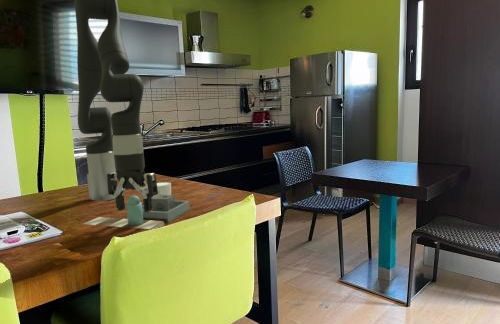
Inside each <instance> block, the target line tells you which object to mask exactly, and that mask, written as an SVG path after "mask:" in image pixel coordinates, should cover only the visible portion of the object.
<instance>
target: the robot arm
mask: <svg viewBox="0 0 500 324" xmlns="http://www.w3.org/2000/svg"><path fill="white" fill-rule="evenodd" d="M74 9H75V21H76V22H75V23H76V32H77V33H76V36H77V53H76V54H77V56H76V57H77V61H76V63H77V66H76V67H77V81H78V85H77V86H78V104H77V106H78V107H77V124H78V125H77V126H78V130H79V131H80V133H81V134H83V135H94V134H101V136H100V137H99V138H98V139H97V140H95V141H93V142H90V143H88V144H87V145H85V153H86V160H87V161H86V162H87V169H88V173H87V174H86V180H87V189H88V195H89V197H88V198H89V200H91V201H98V202H99V201H100V202H101V201H102V202H104V201H105V202H106V201H110V200H111V201H112V200H115V205H116V209H117V211H121V212H122V211H123V210H125V209H126V203H125V196H124V193H125V191H127V190H134V191H136V192H137V193H139V194H140V195H141V197H142V202H143V203H142V205H144V212H149V211H152V210H153V208H152V198H153V196H155V195H157V194H158V189H157V183H158V182H157V176H156V173H155V172H152V173H151V172H150V173H145V167H146V165H145V164H146V163H145V155H144V153H145V152H144V145H143V144H144V142H143V137H142V134H141V133H142V132H141V123H140V120H141V119H140V116H141V115H140V114H141V106H142V100H143V95H144V89H145V87H144V82H143V80H142V78H141V77H140V76H139V75H138V74H133V73H127V72H128V71H129V69H130V62H129V59H128V55H127V51H126V48H125V44H124V40H123V39H124V38H123V33H122V25H121V23H122V22H121V17H120V11H119V10H120V8H119V3H118V0H74ZM90 20H103V21H105V20H106V21H107V24H106V27H105V28H104V29H103V31H102V33H101V35H99V38H98V40H97V38H96V36H95V35H94V34H93V31H92V29H91V27H90V24H89V21H90ZM126 73H127V74H126ZM99 93H100V95H101V97H102V98H103V99H104V100H105V101H106V102H108V103H123V102H124V103H127V102H129V104H128V106H127V108H125V109H124V110H120V111H115V112H114V113H112V114H111V111H110V109H109V108H108V107H106V106H105V107H103V106H102V107H101V106H100V107H99V106H96V107H91V105H92V104H93V101H94V99H95V97H96V96H97V95H98V94H99Z"/></svg>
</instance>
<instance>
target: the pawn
mask: <svg viewBox="0 0 500 324" xmlns="http://www.w3.org/2000/svg"><path fill="white" fill-rule="evenodd" d="M142 202H143V201H141V199H140V197H138V196H137V195H135V194H134V195H130V196H129V197H128V199H127V203H125V208H126V217H127V218H126V219H128V225H129V226H137V225H141V224H143V220H144V218H143V211H142V205H143V203H142Z"/></svg>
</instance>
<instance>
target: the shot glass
mask: <svg viewBox="0 0 500 324" xmlns="http://www.w3.org/2000/svg"><path fill="white" fill-rule="evenodd" d="M157 189H158V194H157V195H155V196H153V197H152V198H154V197H156V196H158V195H172V183H171V182H169V181H166V182H165V181H161V182H157Z"/></svg>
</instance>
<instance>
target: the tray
mask: <svg viewBox="0 0 500 324" xmlns="http://www.w3.org/2000/svg"><path fill="white" fill-rule="evenodd" d="M175 203H176V207H175V208H173V209H171V210H169V211H167V212H160V211H153V210H151V211H149V212H144V204H142V211H143V219H144V218H145V219H158V220H159V219H162V220H164V221H163V222H164V224H169V223H171V222H173V221H174V220H176V219H178V218H180V217H181V216H183V215H185V214H187V213H188V212H190V211H191V208H190V201H189V200H175ZM152 209H153V206H152Z"/></svg>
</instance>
